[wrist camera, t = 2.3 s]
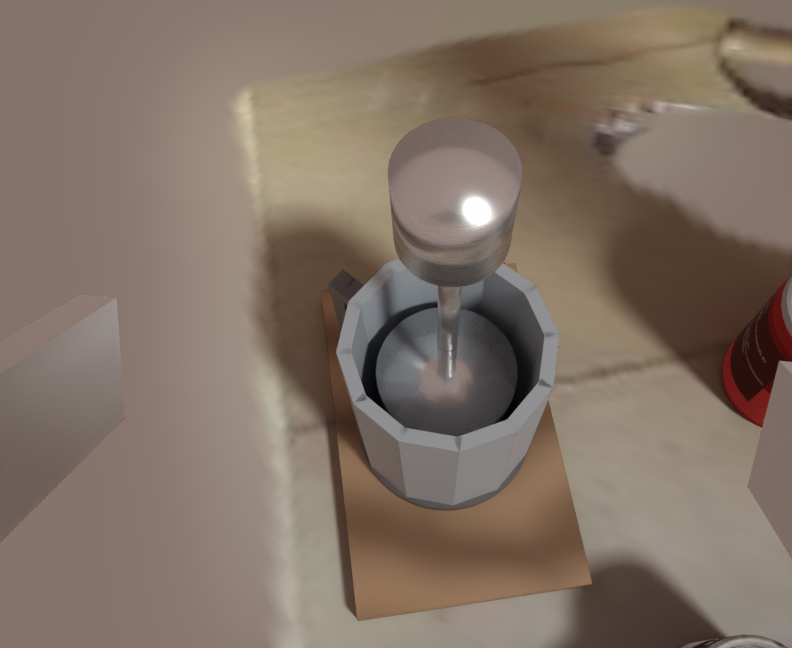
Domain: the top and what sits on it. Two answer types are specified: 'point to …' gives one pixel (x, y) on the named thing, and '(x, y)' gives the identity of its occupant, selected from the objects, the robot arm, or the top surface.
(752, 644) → the mug
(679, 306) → the top surface
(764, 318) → the canned food
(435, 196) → the plunger
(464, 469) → the grey cup
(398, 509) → the serving board
